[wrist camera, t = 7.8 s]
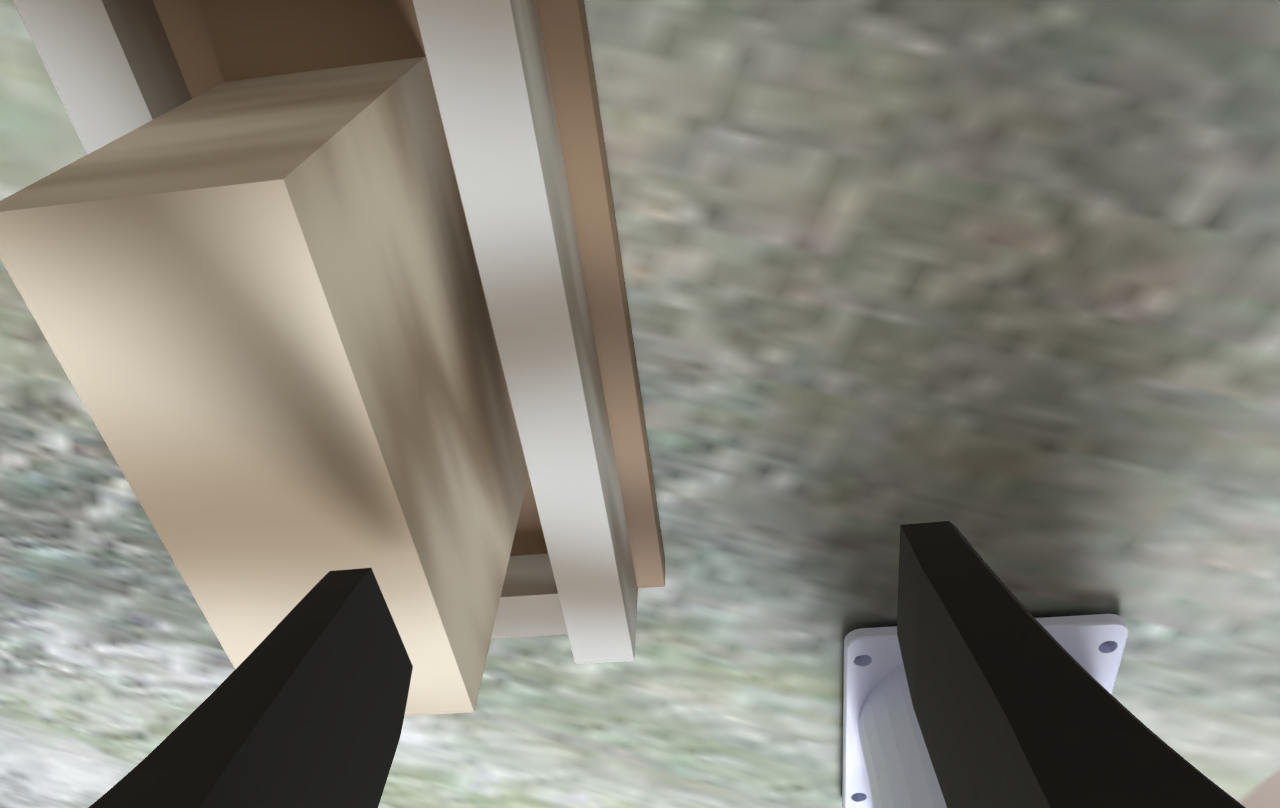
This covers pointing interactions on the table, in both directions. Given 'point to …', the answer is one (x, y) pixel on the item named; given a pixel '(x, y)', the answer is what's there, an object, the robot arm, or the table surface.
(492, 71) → the track board
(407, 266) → the door panel
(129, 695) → the table surface
